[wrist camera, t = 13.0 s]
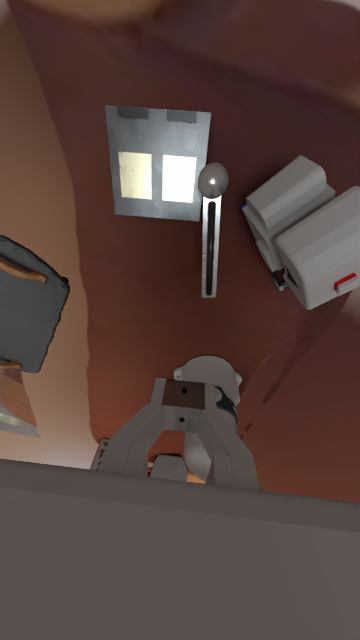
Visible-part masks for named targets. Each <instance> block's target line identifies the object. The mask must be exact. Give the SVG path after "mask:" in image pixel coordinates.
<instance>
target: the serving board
mask: <svg viewBox="0 0 360 640" xmlns="http://www.w3.org/2000/svg"><path fill="white" fill-rule="evenodd" d="M68 282H69V280H68V278H66V277H61V276H60V275H59V274H58V273H57V272H56V271H55V270H54V269H53V268H52V267H50V266H49V265H48V264H47V263H46V262H45V261H44V260H42V259H41V258H39V257H38V256H37V255H36V254H34V253H33V252H32V251H31V250H29V249H27V248H25V247H24V246H22V245H20V244H19V243H17V242H15V241H13V240H11V239H10V238H8V237H6V236H3V235H0V369H10V368H12V369H15V370H19V371H24V372H29V373H38V372H39V371H40V369H41V366H42V363H43V361H44V358H45V356H46V355H47V351H48V346H49V344H50V343H51V341H52V339H53V337H54V332H55V330H56V326H57V325H58V323H59V322H60V319H61V311H62V310H63V307H64V305H65V303H66V300H67V298H68V295H69V292H70V286H69V285H68Z"/></svg>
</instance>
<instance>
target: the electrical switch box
mask: <svg viewBox="0 0 360 640" xmlns="http://www.w3.org/2000/svg"><path fill="white" fill-rule="evenodd" d="M187 474H188V473H187V469H186V465H185V462H184V460H183V459H182V458H181V457H179V456H171V455H163V454H159V455H158V457H157V458H156V460H155V462H154V463H153V467H152V470H151V472H148V477H154V478H162V479H170V480H178V481H187Z"/></svg>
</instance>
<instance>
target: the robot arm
mask: <svg viewBox="0 0 360 640" xmlns="http://www.w3.org/2000/svg"><path fill="white" fill-rule="evenodd" d="M174 378H175V380H173V379H165V378H156V380H155V385H154V389H153V393H152V397H151V401H150V404H146V405H145V406H144V407H143V408H142V409H141V410H140V411H139V412H138V413H137V414H135V415H134V416H133V417H132V418H131V419H130V420H129V421H128V422H127V423H126V424H125V425H124V426H123V427H122V428H120V429H119V430H118V431H117V432H116V433H115V434H114V435H113V436H112V437H111V438H110V440H109V443H108V445H107V448H106V451H105V453H104V456H103V459H102V461H101V464H100V467H99V469H98V471H97V470H88V469H80V468H72V467H64V466H56V465H48V464H40V463H31V462H23V461H15V460H7V459H0V640H360V503H357V502H348V501H341V500H332V499H324V498H316V497H308V496H300V495H292V494H283V493H275V492H267V491H264V490H263V489H262V488H261V486H260V485H259V484H258V479H257V474H256V469H255V464H254V460H253V455H252V454H251V453H250V451H249V450H248V449H247V447H246V446H245V445H244V443H243V442H242V440H241V439H240V438H239V436H238V433H237V427H236V426H237V411H236V408H235V407H236V406H237V404H238V403H239V402H240V397H239V389H238V386H239V385H240V383H241V381H242V376H241V375H240V374H238V373H237V372H235V371H234V369H233V368H232V366H231V365H230V364H229V363H228V362H227V361H226V360H224V359H222V358H219V357H215V356H200V357H196V358H194V359H192V360H190V361H189V362H187V363H186V364H185V365H184V366H182V367H179V368H176V369H175V370H174ZM163 430H174V431H183V432H185V438H184V459H185V462H186V464H187V466H188V468H189V469H190V471H191V472H192V473H193V474H195V475H196V476H197V477H199V478H200V479H202V480H203V481H205V482H206V484H203V483H194V482H186V481H178V480H170V479H162V478H154V477H148V459H147V452H148V450H149V449H150V448H151V447H152V445H153V444H154V443H155V441H156V440H157V439H158V437H159V436H160V435H161V433H162V432H163Z"/></svg>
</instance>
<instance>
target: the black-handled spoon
mask: <svg viewBox="0 0 360 640" xmlns="http://www.w3.org/2000/svg"><path fill="white" fill-rule="evenodd" d="M227 186H228V173H227V171H226V169H225V168H224V167H223V166H222V165H221V164H219V163H210V164H208V165H206V166H205V167H204V168H203V169H202V170H201V172H200V174H199V177H198V188H199V191H200V193H201V194H202V195H203V236H202V298H208V297H216V281H217V263H218V244H219V226H220V208H221V195H222V194H223V193H224V192H225V190H226V188H227Z"/></svg>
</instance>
